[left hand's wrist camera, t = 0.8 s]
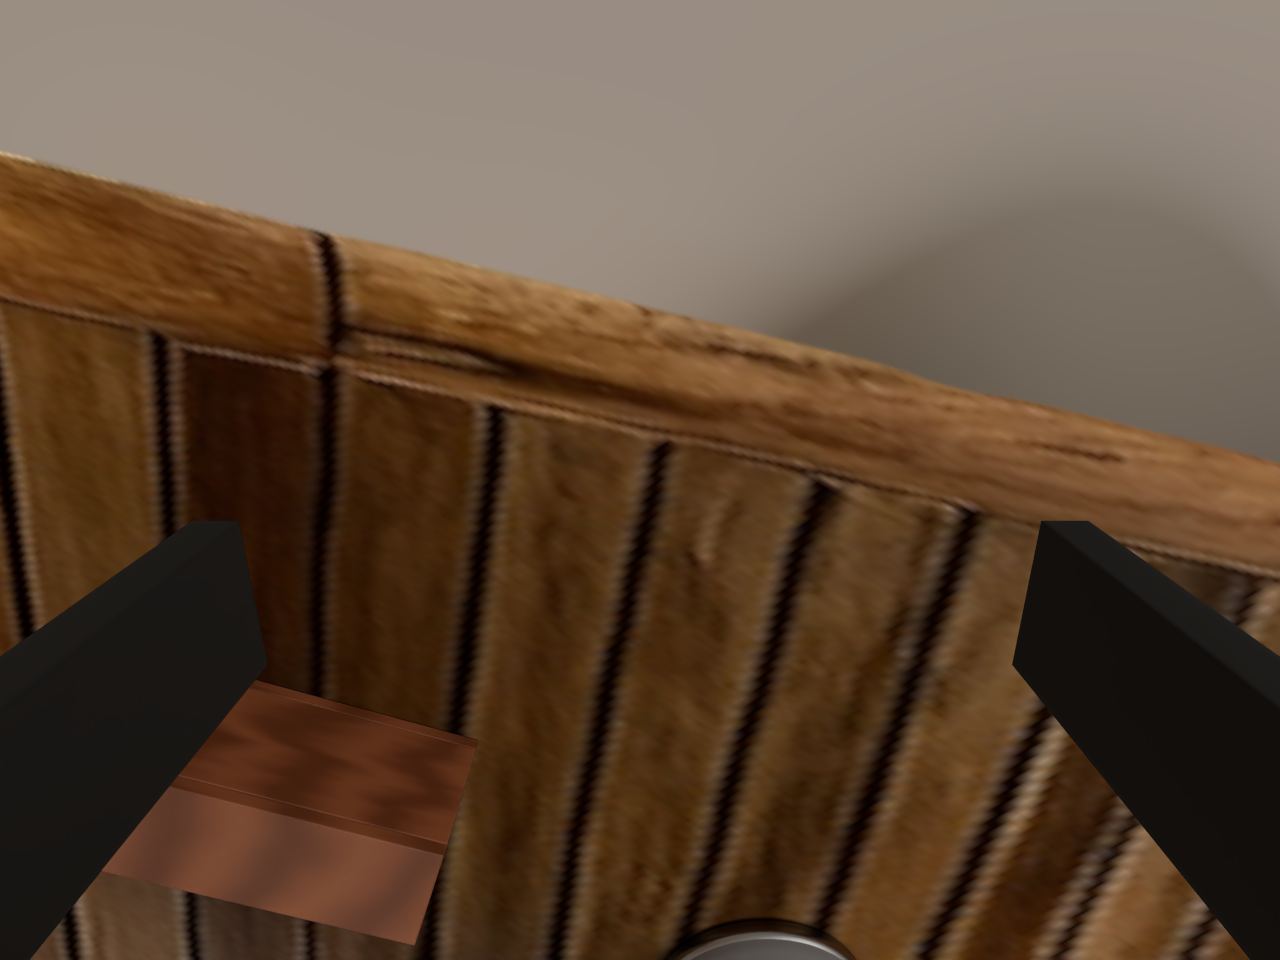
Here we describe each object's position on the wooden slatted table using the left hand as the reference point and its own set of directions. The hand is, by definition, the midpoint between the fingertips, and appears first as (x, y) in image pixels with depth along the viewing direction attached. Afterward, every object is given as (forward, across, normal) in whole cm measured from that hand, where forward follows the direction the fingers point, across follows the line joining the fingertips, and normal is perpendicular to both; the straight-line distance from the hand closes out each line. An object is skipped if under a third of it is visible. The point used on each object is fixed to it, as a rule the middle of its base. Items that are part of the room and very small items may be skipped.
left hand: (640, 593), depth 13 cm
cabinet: (+26, +19, +25) cm, 41 cm away
